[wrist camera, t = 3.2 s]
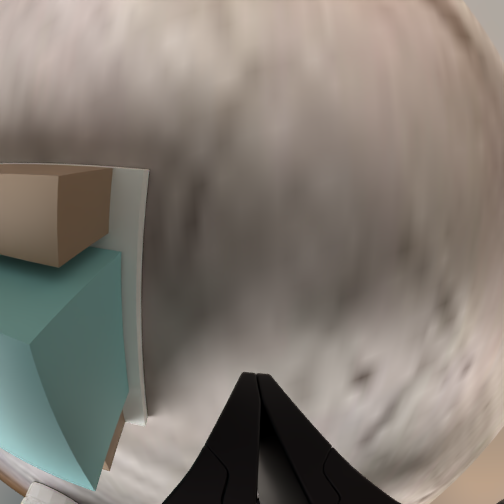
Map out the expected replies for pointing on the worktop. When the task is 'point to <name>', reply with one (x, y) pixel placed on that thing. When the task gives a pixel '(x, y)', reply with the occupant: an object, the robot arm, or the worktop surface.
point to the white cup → (45, 495)
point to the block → (62, 362)
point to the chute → (83, 240)
